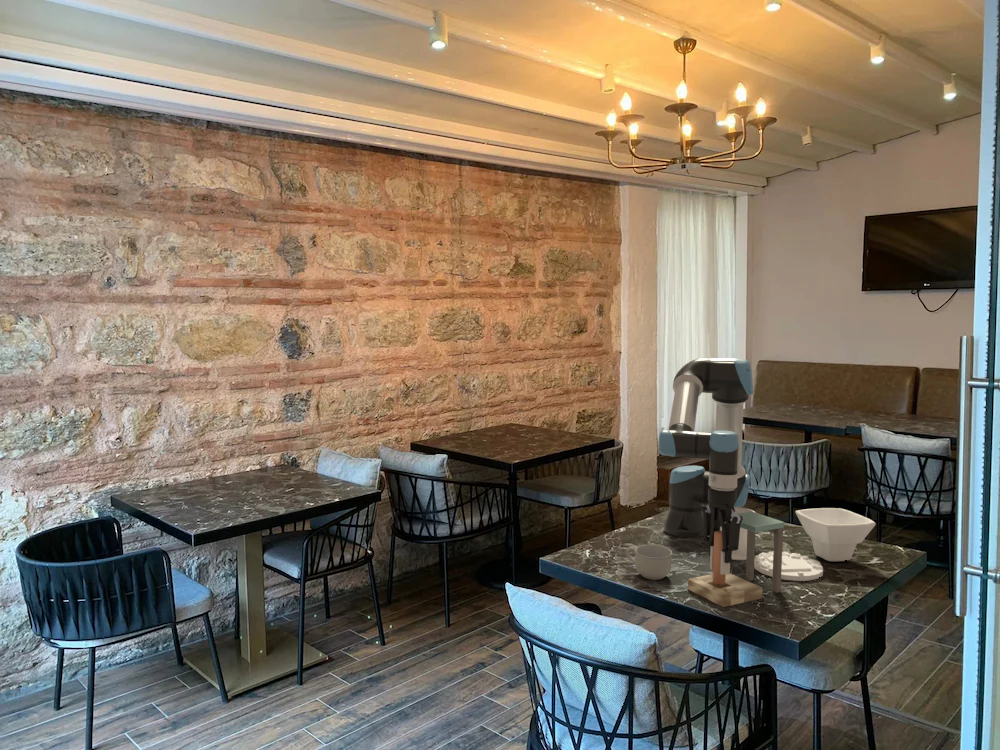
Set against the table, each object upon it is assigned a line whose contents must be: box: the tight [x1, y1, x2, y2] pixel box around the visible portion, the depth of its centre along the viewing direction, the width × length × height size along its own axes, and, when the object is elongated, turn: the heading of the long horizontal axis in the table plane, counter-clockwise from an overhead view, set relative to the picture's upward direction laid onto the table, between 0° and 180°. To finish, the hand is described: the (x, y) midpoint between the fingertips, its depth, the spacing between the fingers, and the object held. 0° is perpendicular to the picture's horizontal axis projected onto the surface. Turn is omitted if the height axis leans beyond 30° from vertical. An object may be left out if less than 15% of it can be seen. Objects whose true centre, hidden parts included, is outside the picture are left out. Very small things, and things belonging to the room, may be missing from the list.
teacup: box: [625, 543, 673, 581], centre depth 219 cm, size 14×11×8 cm
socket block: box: [687, 572, 763, 608], centre depth 205 cm, size 14×14×3 cm
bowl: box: [795, 507, 876, 562], centre depth 234 cm, size 19×19×14 cm
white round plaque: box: [754, 550, 824, 582], centre depth 224 cm, size 20×20×3 cm
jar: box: [720, 507, 756, 561], centre depth 236 cm, size 11×10×15 cm
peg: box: [712, 530, 726, 584], centre depth 203 cm, size 3×3×14 cm
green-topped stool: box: [737, 511, 785, 594], centre depth 209 cm, size 12×11×20 cm
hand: (719, 571), depth 203 cm, fingers closed on peg, 3 cm apart
